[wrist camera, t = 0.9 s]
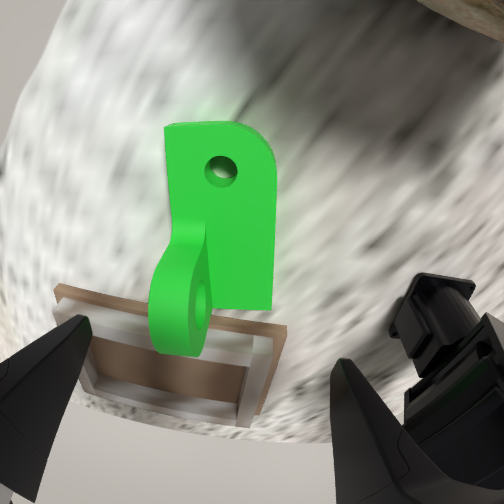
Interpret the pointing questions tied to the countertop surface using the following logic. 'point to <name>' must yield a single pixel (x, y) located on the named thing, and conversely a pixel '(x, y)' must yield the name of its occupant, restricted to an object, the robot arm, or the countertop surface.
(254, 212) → the mechanical part
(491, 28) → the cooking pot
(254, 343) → the keyed nest
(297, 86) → the countertop surface
